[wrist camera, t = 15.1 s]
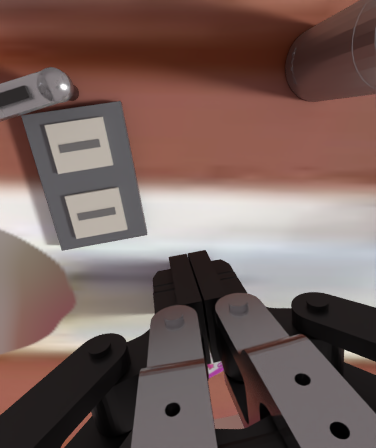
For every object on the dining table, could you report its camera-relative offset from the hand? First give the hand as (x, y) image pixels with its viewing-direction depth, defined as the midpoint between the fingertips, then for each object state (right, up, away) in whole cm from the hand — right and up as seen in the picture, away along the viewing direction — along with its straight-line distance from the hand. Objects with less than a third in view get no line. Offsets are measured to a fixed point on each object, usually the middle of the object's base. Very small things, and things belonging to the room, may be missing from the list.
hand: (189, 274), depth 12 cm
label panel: (-13, +8, +30) cm, 34 cm away
